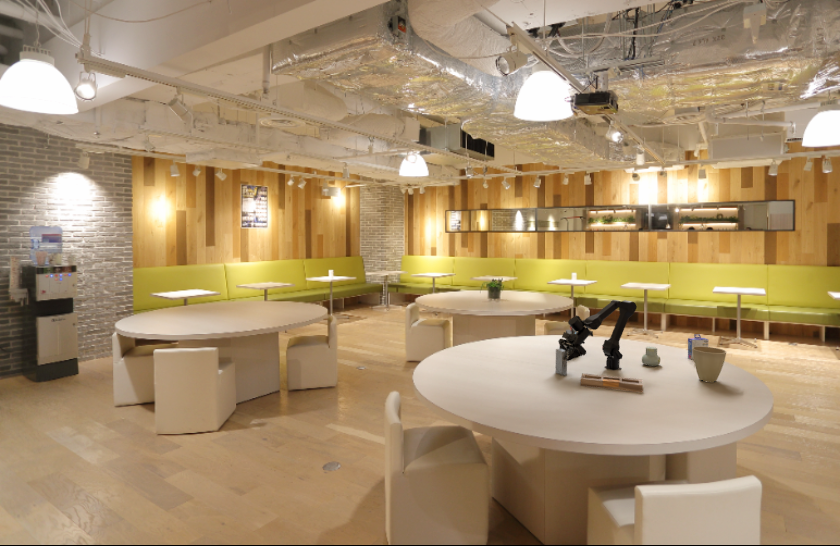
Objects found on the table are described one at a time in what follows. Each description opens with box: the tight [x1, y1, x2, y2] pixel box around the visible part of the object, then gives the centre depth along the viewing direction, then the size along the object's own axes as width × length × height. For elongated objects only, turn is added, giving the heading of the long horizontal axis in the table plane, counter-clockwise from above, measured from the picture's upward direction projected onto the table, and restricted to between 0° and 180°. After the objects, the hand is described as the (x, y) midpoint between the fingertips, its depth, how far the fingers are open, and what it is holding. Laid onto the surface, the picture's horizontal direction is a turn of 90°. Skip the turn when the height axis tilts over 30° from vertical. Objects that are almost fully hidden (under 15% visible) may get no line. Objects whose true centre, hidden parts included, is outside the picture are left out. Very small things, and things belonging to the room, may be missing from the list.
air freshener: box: [641, 346, 661, 367], centre depth 279 cm, size 11×8×10 cm
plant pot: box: [693, 346, 727, 383], centre depth 250 cm, size 15×15×16 cm
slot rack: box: [580, 373, 644, 393], centre depth 242 cm, size 10×28×4 cm, turn 67°
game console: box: [565, 325, 578, 356], centre depth 311 cm, size 28×6×15 cm, turn 168°
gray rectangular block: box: [555, 348, 568, 376], centre depth 263 cm, size 3×6×13 cm, turn 17°
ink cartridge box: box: [687, 333, 709, 361], centre depth 292 cm, size 10×6×14 cm, turn 89°
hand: (562, 358), depth 263 cm, fingers open, 9 cm apart
